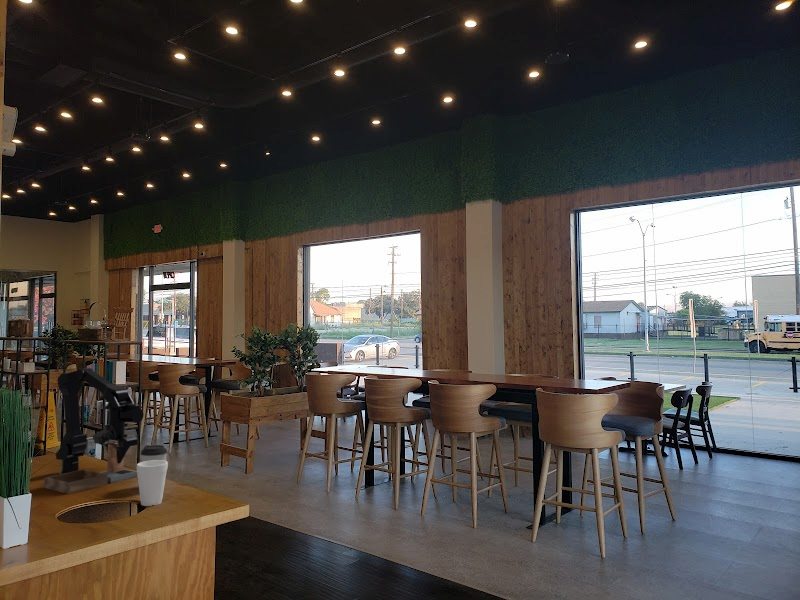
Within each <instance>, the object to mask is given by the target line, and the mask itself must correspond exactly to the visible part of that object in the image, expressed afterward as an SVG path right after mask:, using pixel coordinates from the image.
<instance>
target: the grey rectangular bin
mask: <svg viewBox="0 0 800 600" xmlns="http://www.w3.org/2000/svg"><path fill="white" fill-rule="evenodd" d="M99 473H104V474H108V482H107V484H115V483H117V482H118V483H119V482H121V481H126V480H130V479H133V478H138V474H137V470H132V469H131V470H130V469H126V468H123V470H122V471H118V472H109V471H107V470H104V471H99Z"/></svg>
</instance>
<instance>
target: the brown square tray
mask: <svg viewBox="0 0 800 600" xmlns="http://www.w3.org/2000/svg"><path fill="white" fill-rule="evenodd" d="M99 472H100V471H99ZM99 472H98V471H93V470H90V469H85V468H84V469H78V471H73V472H69V473H64V474H56V475H50V476H46V477H44V479H43V481H44V482H43V488H44V489H48V490H51V491H55V492H58V493H59V492H60V493H62V494H67V495H70V494H74V493H77V492H82V491H85V490H90V489H93V488H98V487H102V486H106V485H108V483H107V482H108V474H104V473H99Z"/></svg>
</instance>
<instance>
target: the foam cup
mask: <svg viewBox="0 0 800 600" xmlns="http://www.w3.org/2000/svg"><path fill="white" fill-rule="evenodd" d="M168 466H169V462H168V460H167V461H164V460H151V461H144V462H141V461H140V462H138V463H137V464H136V471H137V481H138V490H139V491H138V492H139V499H140V500H139V501H140V505H141V506H143V507H144V506H145V507H152V505H154V506H156V505H160V504H162V502H163V496H164V489H165V483H166V477H167V471H168Z"/></svg>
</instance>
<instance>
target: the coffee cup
mask: <svg viewBox="0 0 800 600" xmlns="http://www.w3.org/2000/svg"><path fill="white" fill-rule="evenodd" d="M167 450H168V449H167V448H166V447H165V446H164V445H161V444H156V445H145V446H144V447H143V449H141V451H140V462H144V461H151V460H164V461H167V462H168V460H167V456H168V451H167Z"/></svg>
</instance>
